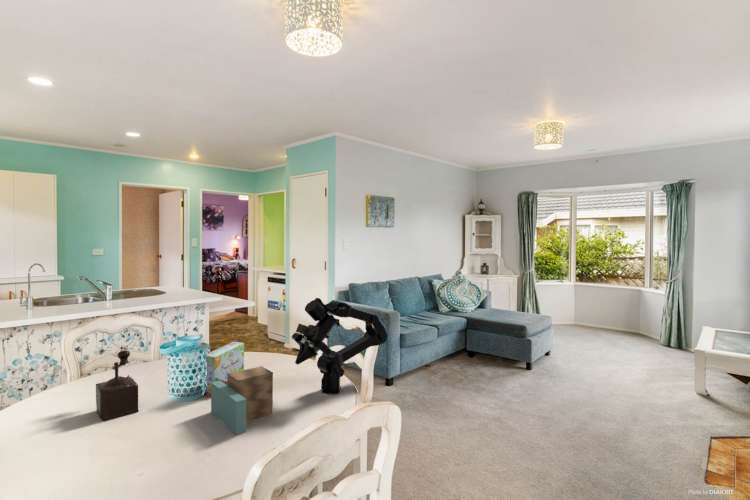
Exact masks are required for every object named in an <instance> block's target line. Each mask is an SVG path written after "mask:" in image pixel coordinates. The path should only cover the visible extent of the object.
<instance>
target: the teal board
mask: <svg viewBox="0 0 750 500" xmlns="http://www.w3.org/2000/svg"><path fill="white" fill-rule="evenodd" d="M210 399H211V400H210V413H211V414H212V415H213V416H215V417H216V418H217V419H218V420H219V421H220V422H221V423H223V424H224V426H226V428H228V429H229V430H231V432H232V433H234V434H235V435H236V436H237V435H240V434H241V435H242V434H243V433H247V422H246V398H244V397H243V396H241V395H240V394H239V393H237V392H236V391H234V390H233V389H232V388H230V387H229V386H227V385H226V384H224V383H223V382H222V381H216V382H212V383H211V397H210Z"/></svg>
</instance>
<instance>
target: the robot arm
mask: <svg viewBox="0 0 750 500" xmlns="http://www.w3.org/2000/svg"><path fill="white" fill-rule="evenodd" d="M304 311H305V313H306V314H307V315H308V316H309V317H310V318H312V320H314V321H315V322H316V324H315V325H314V324H309V325H305V324H302V323H298V325H297V326H296V327H297V328H296V330H295V332H294V333H293V334H292V335H291V339H293V341H294V342H295V343H297V345H298V346H299V349H298V353H297V356H296V359H295V362H294V364H296V365H300V364H302V363H303V362H305V361H307V360H309V359H311V358H313V357H315V356H318V355H319V353H318V352H319V351H320V352H321V355H320V356H319V357H318V358H317V362H316V367H317V368H318V369H319V372H320V373H321V374H323V375H322V378H321V389H320V390H321V393H322V394H336V395H337V394H340V391H341V388H342V387H341V377H343V376H344V374H345V370H344V368H343V367H342V366H343V365H344V363H345V362H347V361H348V360H350V359H352V358H354V357H355V356H356V355H359V354H360V353H361V352H363V351H366V350H367V349H368V348H370V347H377V346H381V345H383V344H385V343H386V342H387V340H388V334H387V331H386V328H385V326H384V325H383V324H382V323H381V321H380V319H379V316H378V315H377V314H376V313H370V312H366V311H363V310H360V309H356V308H353V306H351V305H350V304H348V303H346V302H343V301H340V300H335V299H334V300H332V299H331V301H329V302H328V303H324V302H323V300H321V298H320V297H315V299H313V300H311V301H310V302H308V303H307V304H306V305H305V307H304ZM336 317H338V318H336ZM339 318H352V319H356V320H360V321H363V322H364V323H365V325H364V326H365V328H364V329H365V332H364V334H363V336H362V337H360V338H359V339H356V340H355V341H354V342H352V343H350V344H348V345H347V346H345V347H343V348H341V349H340V350H337V351H336V350H332V349H331V348H330V347H329V346H328V345H327V344H326V343H325V342H324V341H325V339H329V337H330V336H329V333H330V332H331V331H332V329H333V328H334V327H338V328H340V327H341V323H340V319H339Z"/></svg>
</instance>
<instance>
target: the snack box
mask: <svg viewBox="0 0 750 500" xmlns="http://www.w3.org/2000/svg"><path fill="white" fill-rule="evenodd" d="M208 353H209V354H208ZM208 353H206V354H207V355H206V354H205V355H206V356H205V357H206V362H207V386H206V390H205V393H204V396H203V397H208V398H209V397H210V398H211V383H212V382H216V381H222V382H223V383H224V384H226V385H227V374H228V373H233V372H237V371H242V370H245V368H244V367H245V365H244V363H245V360H244V359H245V342H241V341H231V342H230V343H228V344H225V345H224V346H221V347H219V348H217V349H215V350H212V351H210V352H208Z"/></svg>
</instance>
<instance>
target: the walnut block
mask: <svg viewBox="0 0 750 500" xmlns="http://www.w3.org/2000/svg"><path fill="white" fill-rule="evenodd" d="M273 382H274V372H273V371H272V370H269V369H268V368H266V367H264V366H262V365H261V366H256V367H251V368H248V369H244V370H242V371H237V372H233V373H228V374H227V386H229V387H230V388H232V389H233V390H234V391H236V392H237V393H239V394H240V395H241V396H243V397H244V398H246V423H247V422H250V421H254V420H257V419H260V418H263V417H267V416H270V415H273V409H274V408H273V407H274V406H273V402H274V400H273V397H274V395H273V394H274V393H273V392H274V391H273V390H274V389H273V388H274V383H273Z"/></svg>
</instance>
